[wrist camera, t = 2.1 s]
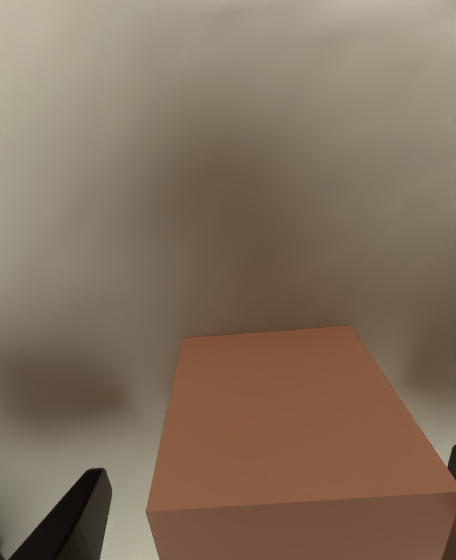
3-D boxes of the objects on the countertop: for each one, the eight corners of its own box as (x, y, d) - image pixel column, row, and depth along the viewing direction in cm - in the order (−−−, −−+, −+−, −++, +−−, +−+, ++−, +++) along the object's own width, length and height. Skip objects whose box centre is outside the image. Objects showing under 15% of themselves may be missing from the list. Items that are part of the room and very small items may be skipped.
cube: (201, 452, 12) (186, 653, 7) (182, 336, 10) (145, 512, 5) (339, 443, 12) (415, 641, 7) (349, 324, 10) (463, 491, 5)
